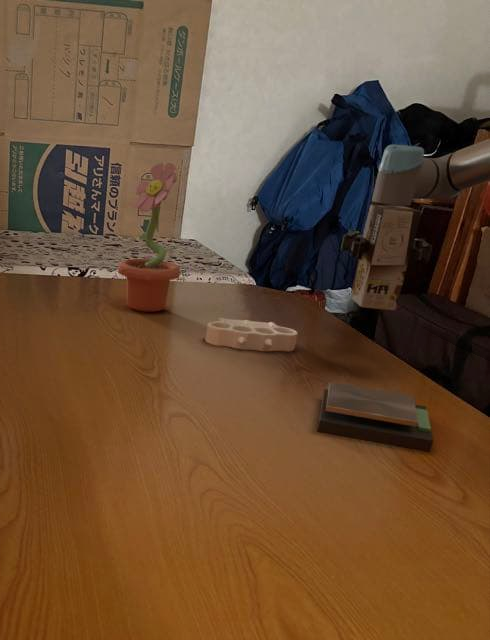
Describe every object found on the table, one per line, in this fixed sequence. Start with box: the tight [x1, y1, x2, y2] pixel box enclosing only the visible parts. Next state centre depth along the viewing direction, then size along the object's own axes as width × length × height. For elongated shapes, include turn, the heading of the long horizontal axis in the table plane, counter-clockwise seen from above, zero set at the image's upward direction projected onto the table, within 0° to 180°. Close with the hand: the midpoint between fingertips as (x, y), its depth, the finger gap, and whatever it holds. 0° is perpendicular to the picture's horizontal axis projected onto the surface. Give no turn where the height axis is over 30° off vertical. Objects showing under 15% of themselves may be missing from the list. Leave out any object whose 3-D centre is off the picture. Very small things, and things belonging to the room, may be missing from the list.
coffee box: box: [349, 203, 423, 311], centre depth 134 cm, size 9×6×16 cm
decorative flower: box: [117, 162, 181, 313], centre depth 169 cm, size 15×14×30 cm
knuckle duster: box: [204, 317, 299, 353], centre depth 156 cm, size 3×18×15 cm
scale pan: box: [326, 381, 418, 427], centre depth 119 cm, size 13×13×1 cm
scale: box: [316, 389, 434, 453], centre depth 120 cm, size 16×16×2 cm
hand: (386, 254), depth 130 cm, fingers closed on coffee box, 8 cm apart
